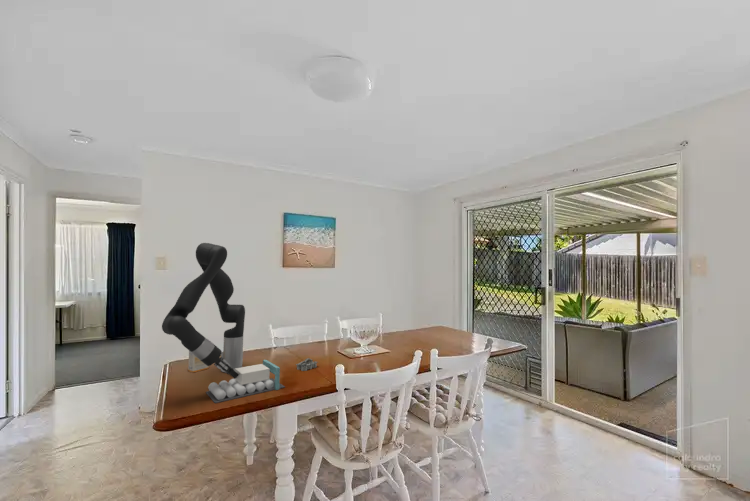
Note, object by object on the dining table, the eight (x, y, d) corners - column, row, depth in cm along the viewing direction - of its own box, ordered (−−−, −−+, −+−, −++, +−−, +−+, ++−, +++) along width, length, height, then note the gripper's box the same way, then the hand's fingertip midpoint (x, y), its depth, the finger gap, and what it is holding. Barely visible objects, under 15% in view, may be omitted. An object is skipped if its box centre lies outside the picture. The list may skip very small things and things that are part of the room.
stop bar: (275, 390, 149) (276, 368, 149) (262, 380, 161) (262, 360, 161) (279, 389, 150) (279, 367, 150) (265, 379, 162) (266, 359, 162)
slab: (241, 384, 143) (241, 373, 143) (234, 379, 150) (234, 368, 150) (269, 379, 150) (269, 368, 150) (261, 373, 157) (261, 363, 157)
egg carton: (309, 364, 188) (310, 357, 188) (319, 367, 183) (319, 359, 183) (294, 369, 179) (294, 361, 180) (303, 372, 175) (303, 363, 175)
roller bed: (214, 403, 134) (215, 392, 134) (205, 392, 144) (206, 382, 145) (284, 387, 152) (285, 378, 152) (272, 379, 163) (272, 370, 163)
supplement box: (203, 367, 179) (204, 341, 180) (208, 369, 176) (209, 343, 177) (187, 371, 172) (188, 344, 173) (192, 373, 170) (193, 346, 170)
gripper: (218, 347, 135) (248, 373, 143) (209, 340, 146) (238, 365, 153) (202, 363, 132) (234, 388, 139) (195, 355, 142) (225, 379, 149)
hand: (236, 376), depth 146 cm, fingers closed
